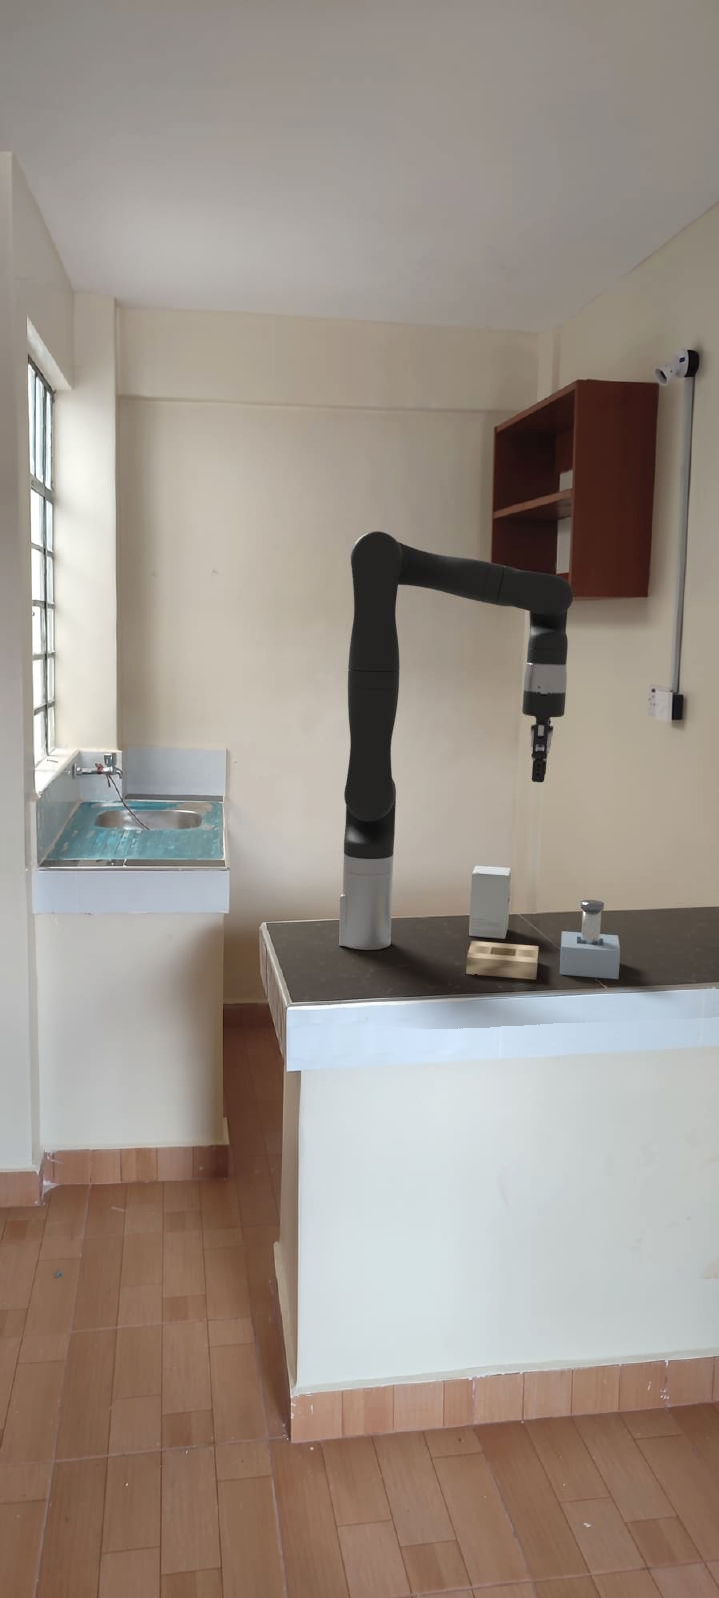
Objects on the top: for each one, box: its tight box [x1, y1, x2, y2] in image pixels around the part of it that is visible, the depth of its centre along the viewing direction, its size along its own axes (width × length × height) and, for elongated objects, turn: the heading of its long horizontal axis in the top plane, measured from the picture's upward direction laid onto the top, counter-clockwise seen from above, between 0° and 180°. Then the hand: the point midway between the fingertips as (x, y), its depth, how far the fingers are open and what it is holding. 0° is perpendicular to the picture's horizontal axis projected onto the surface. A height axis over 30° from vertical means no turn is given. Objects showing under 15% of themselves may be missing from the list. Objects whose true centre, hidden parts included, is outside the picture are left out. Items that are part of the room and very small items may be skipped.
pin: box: [580, 899, 605, 945], centre depth 201 cm, size 4×4×12 cm
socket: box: [559, 930, 621, 980], centre depth 202 cm, size 10×10×5 cm
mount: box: [465, 940, 539, 981], centre depth 201 cm, size 12×10×3 cm
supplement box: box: [468, 865, 512, 940], centre depth 222 cm, size 7×7×13 cm
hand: (538, 778), depth 206 cm, fingers open, 8 cm apart
